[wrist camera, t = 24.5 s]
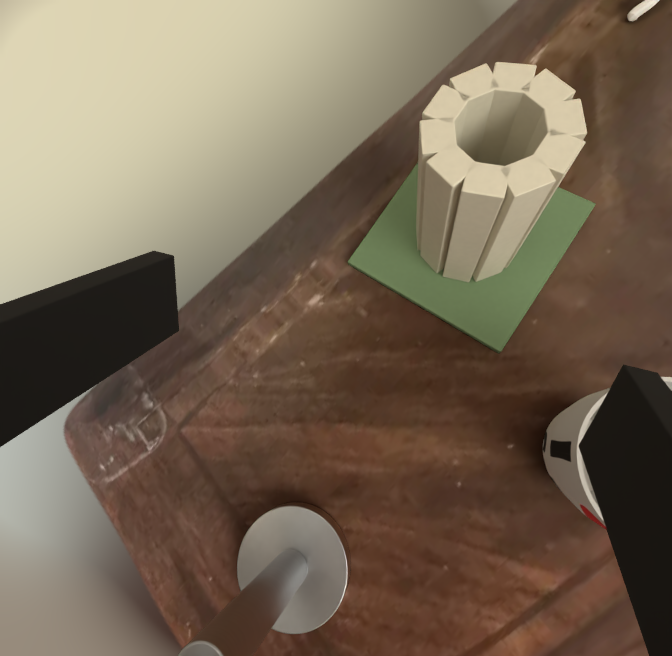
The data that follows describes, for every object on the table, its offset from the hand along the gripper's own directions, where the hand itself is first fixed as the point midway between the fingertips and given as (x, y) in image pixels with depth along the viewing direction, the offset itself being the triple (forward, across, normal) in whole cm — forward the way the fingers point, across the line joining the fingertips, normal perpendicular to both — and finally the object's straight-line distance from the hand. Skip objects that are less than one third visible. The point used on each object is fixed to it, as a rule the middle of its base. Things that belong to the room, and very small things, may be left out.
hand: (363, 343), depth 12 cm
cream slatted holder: (+24, +3, -1) cm, 24 cm away
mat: (+24, +3, -1) cm, 24 cm away
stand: (+7, -3, -23) cm, 24 cm away
